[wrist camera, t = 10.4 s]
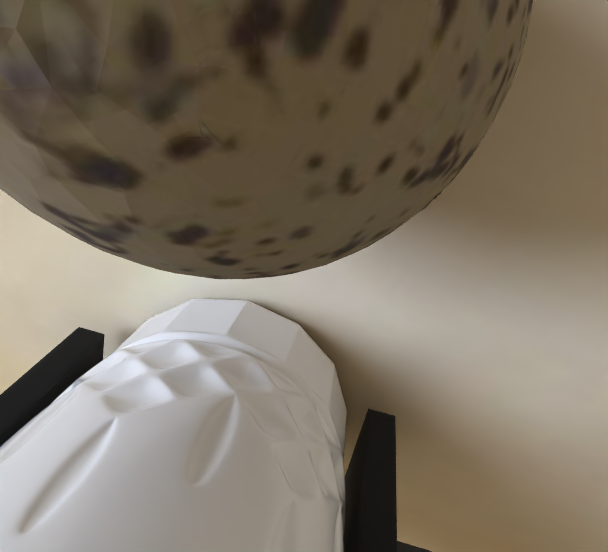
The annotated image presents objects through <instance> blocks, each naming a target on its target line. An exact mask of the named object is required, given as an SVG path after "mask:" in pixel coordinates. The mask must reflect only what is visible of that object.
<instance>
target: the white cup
mask: <svg viewBox="0 0 608 552" xmlns="http://www.w3.org/2000/svg"><path fill="white" fill-rule="evenodd" d="M346 417H347V410H346V405H345V402H344V398H343V394H342V391H341V387H340V384H339V380H338V376H337V373H336V369H335V365H334V363H333V362H332V361H331V360H330V359H329V358H328V357H327V355H326V354H325V353H324V352H323V351H322V350H321V349H320V348H319V346H318V345H317V344H316V343H315V342H314V341H313V340H312V339H311V337H310V336H309V335H308V334H307V333H306V332H305V331H304V330H303V328H302V327H301V326H300V325H299V324H297V323H295V322H293V321H291V320H289V319H287V318H284V317H282V316H280V315H278V314H276V313H274V312H272V311H270V310H267V309H265V308H263V307H261V306H259V305H257V304H255V303H253V302H250V301H248V300H225V299H200V298H194V299H191V300H189V301H187V302H184V303H182V304H180V305H178V306H175V307H173V308H171V309H169V310H166V311H164V312H162V313H160V314H157V315H155V316H153V317H151V318H149V319H148V320H147V321H145V322H144V323H143V324H142V325H141V326H140V327H139V328H138V329H137V330H136V331H135V332H134V333H133V334H132V335H131V336H130V337H129V338H128V339H127V340H125V341H124V342H123V343H122V344H121V345H120V346H119V347H118V348H117V349H116V350H115V351H114V352H113V353H112V354H111V355H110V356H109V357H107V358H106V359H104V360H103V361H101V362H100V363H98V364H97V365H96V366H94V367H93V368H91V369H90V370H89V371H87V372H86V373H85V374H83V375H82V376H81V377H80V378H78V379H77V380H76V381H75V382H74V383H72V384H71V385H70V386H69V387H68V388H67V389H66V390H65V391H64V392H63V393H62V394H61V395H60V396H59V397H57V398H56V399H55V400H54V401H53V402H52V403H51V404H50V405H49V406H48V407H47V408H45V409H44V410H43V411H41V412H40V413H39V414H38V415H36V416H35V417H34V418H33V419H31V420H30V421H29V422H28V423H26V424H25V425H24V426H23V427H22V428H21V429H20V430H18V431H17V432H16V433H15V434H14V435H13V436H12V437H10V438H9V439H8V440H7V441H6V442H5V443H4V444H3V445H2V446H0V552H344V539H343V536H344V525H345V509H346V499H345V478H344V466H343V458H344V445H345V431H346Z"/></svg>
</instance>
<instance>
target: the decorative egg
mask: <svg viewBox="0 0 608 552" xmlns="http://www.w3.org/2000/svg"><path fill="white" fill-rule="evenodd" d="M532 3H533V0H0V189H2V190H3V191H4V192H6V193H7V194H8V195H10V196H11V197H12V198H14V199H15V200H16V201H18V202H19V203H20V204H22V205H23V206H24V207H26V208H27V209H28V210H30V211H31V212H33V213H34V214H36V215H38V216H40V217H41V218H43V219H45V220H46V221H48V222H50V223H51V224H53V225H55V226H57V227H58V228H60V229H62V230H63V231H65V232H67V233H69V234H70V235H72V236H74V237H76V238H78V239H80V240H82V241H84V242H86V243H88V244H90V245H92V246H94V247H96V248H98V249H100V250H102V251H105V252H107V253H110V254H113V255H116V256H119V257H122V258H124V259H127V260H130V261H133V262H136V263H139V264H142V265H145V266H148V267H152V268H155V269H159V270H163V271H168V272H172V273H177V274H185V275H192V276H199V277H206V278H214V279H251V278H263V277H274V276H281V275H287V274H293V273H297V272H301V271H304V270H308V269H312V268H316V267H319V266H323V265H326V264H329V263H331V262H334V261H336V260H338V259H341V258H343V257H346V256H348V255H350V254H353V253H355V252H357V251H359V250H362V249H363V248H366V247H368V246H370V245H371V244H373V243H375V242H376V241H378V240H380V239H381V238H383V237H385V236H386V235H388V234H390V233H391V232H393V231H394V230H395V229H397V228H398V227H399V226H401V225H402V224H403V223H405V222H406V221H407V220H409V219H410V218H412V217H413V216H414V215H416V214H417V213H418V212H420V211H421V210H423V209H424V208H426V206H427V205H428V204H429V203H430V202H431V201H432V200H433V199H435V198H436V197H437V195H439V194H440V193H441V191H442V190H443V189H444V188H445V187H446V186H447V185H448V184H449V183H450V182H451V181H452V180H453V179H454V177H455V176H456V175H457V174H458V173H459V172H460V170H461V169H462V168H463V166H464V165H465V164H466V163H467V161H468V160H469V159H470V157H471V156H472V155H473V153H474V152H475V150H476V148H477V147H478V145H479V144H480V142H481V140H482V139H483V137H484V135H485V134H486V132H487V131H488V129H489V127H490V126H491V124H492V123H493V121H494V119H495V117H496V115H497V113H498V111H499V109H500V107H501V105H502V103H503V101H504V99H505V97H506V94H507V92H508V90H509V88H510V86H511V83H512V80H513V78H514V75H515V72H516V70H517V67H518V64H519V61H520V58H521V54H522V51H523V47H524V43H525V39H526V35H527V30H528V25H529V19H530V14H531V8H532Z"/></svg>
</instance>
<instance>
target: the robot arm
mask: <svg viewBox="0 0 608 552" xmlns="http://www.w3.org/2000/svg"><path fill="white" fill-rule="evenodd" d="M103 347H104V334H102V333H98V332H95V331H91V330H87V329H84V328H80V327H78V328H77V329H76V330H75V331H74V332H73V333H72V334H70V335H69V336H68V337H67V338H66V339H65V340H63V341H62V342H61V343H60V344H59V345H58V346H56V347H55V348H54V349H53V350H52V351H51V352H50V353H48V354H47V355H46V356H45V357H44V358H43V359H41V360H40V361H39V362H38V363H37V364H36V365H34V366H33V367H32V368H31V369H30V370H29V371H28V372H26V373H25V374H24V375H23V376H22V377H21V378H19V379H18V380H17V381H16V382H15V383H14V384H12V385H11V386H10V387H9V388H8V389H7V390H6V391H4V392H3V393H2V394H1V395H0V446H2V445H3V444H4V443H5V442H6V441H7V440H8V439H9V438H10V437H12V436H13V435H14V434H15V433H16V432H17V431H18V430H20V429H21V428H22V427H23V426H24V425H25V424H26V423H28V422H29V421H30V420H31V419H33V418H34V417H35V416H36V415H38V414H39V413H40V412H41V411H43V410H44V409H45V408H47V407H48V406H49V405H50V404H51V403H52V402H53V401H54V400H55V399H56V398H57V397H59V396H60V395H61V394H62V393H63V392H64V391H65V390H66V389H67V388H68V387H69V386H70V385H71V384H72V383H74V382H75V381H76V380H77V379H78V378H80V377H81V376H82V375H83V374H85V373H86V372H87V371H89V370H90V369H91V368H93V367H94V366H96V365H97V364H98V363H100V362H101V361H103ZM345 499H346V509H345V525H344V536H343V539H344V552H432V551H429V550H426V549H423V548H419V547H416V546H412V545H409V544H406V543H402V542H399V541H397V513H396V432H395V416H393V415H389V414H386V413H382V412H379V411H375V410H372V409H368V411H367V414H366V417H365V420H364V422H363V425H362V428H361V431H360V434H359V437H358V440H357V443H356V446H355V449H354V452H353V454H352V457H351V460H350V463H349V466H348V469H347V472H346V475H345Z"/></svg>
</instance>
